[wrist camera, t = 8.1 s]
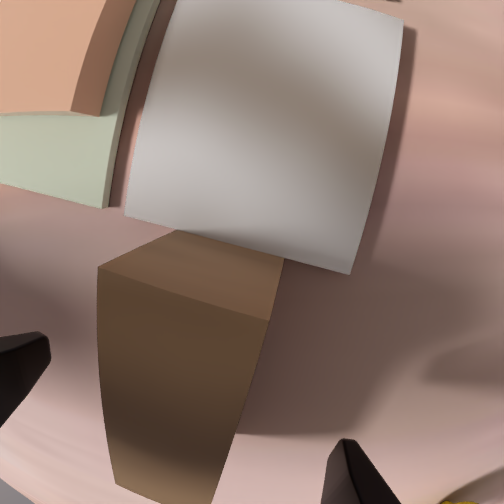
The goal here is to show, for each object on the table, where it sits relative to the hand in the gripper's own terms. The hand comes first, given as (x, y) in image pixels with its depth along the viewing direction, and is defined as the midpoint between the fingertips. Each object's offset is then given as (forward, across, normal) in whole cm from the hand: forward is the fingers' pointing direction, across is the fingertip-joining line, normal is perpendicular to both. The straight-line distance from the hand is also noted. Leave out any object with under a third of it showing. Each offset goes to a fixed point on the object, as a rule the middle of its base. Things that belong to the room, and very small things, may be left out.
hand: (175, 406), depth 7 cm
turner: (+3, 0, -4) cm, 5 cm away
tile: (+2, +13, -11) cm, 17 cm away
